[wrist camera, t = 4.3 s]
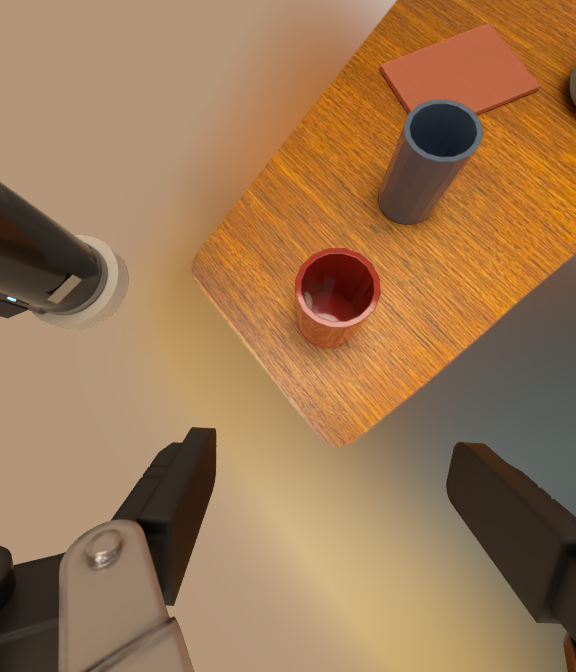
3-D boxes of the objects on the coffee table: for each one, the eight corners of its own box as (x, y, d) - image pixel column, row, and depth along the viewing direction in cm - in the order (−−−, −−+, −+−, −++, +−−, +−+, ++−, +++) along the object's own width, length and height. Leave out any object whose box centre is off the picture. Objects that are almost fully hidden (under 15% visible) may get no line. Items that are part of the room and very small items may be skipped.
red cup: (312, 357, 30) (315, 341, 21) (288, 303, 32) (282, 266, 23) (368, 333, 30) (395, 307, 22) (342, 280, 32) (357, 235, 23)
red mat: (423, 136, 35) (425, 132, 35) (379, 69, 38) (380, 64, 37) (537, 91, 36) (541, 85, 35) (486, 27, 38) (489, 22, 38)
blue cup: (394, 232, 33) (427, 172, 24) (368, 187, 34) (391, 115, 25) (445, 211, 33) (497, 144, 24) (418, 167, 34) (457, 89, 26)
